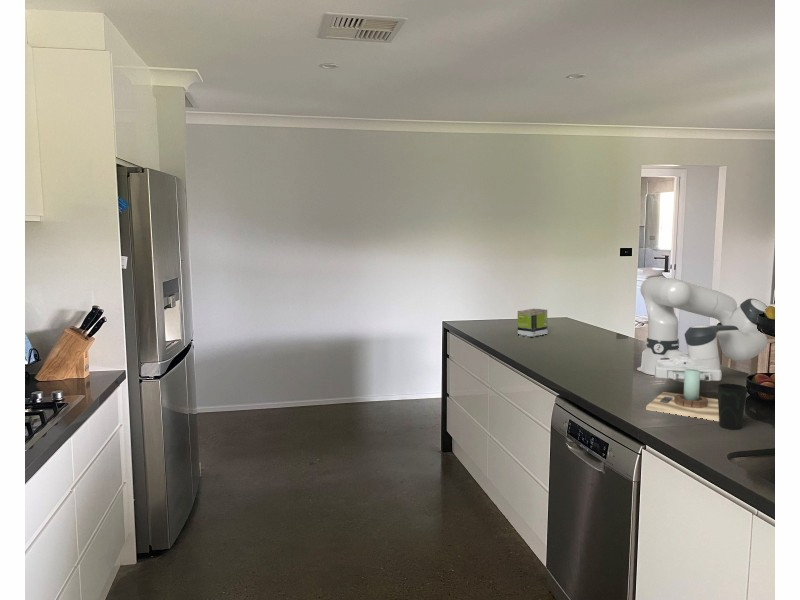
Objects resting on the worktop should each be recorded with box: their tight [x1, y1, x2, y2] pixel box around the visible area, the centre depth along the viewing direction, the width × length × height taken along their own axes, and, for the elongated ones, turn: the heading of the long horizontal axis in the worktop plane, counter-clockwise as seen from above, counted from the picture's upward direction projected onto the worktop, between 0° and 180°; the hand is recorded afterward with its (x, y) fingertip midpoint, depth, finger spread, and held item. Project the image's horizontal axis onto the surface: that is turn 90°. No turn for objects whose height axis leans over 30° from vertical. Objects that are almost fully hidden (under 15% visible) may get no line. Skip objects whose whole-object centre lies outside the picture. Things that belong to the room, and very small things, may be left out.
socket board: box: [645, 391, 719, 422], centre depth 193 cm, size 22×22×3 cm
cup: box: [716, 382, 748, 431], centre depth 173 cm, size 8×8×12 cm
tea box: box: [517, 308, 549, 336], centre depth 335 cm, size 15×10×15 cm, turn 130°
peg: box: [683, 369, 701, 401], centre depth 193 cm, size 4×4×11 cm
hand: (692, 377), depth 192 cm, fingers open, 8 cm apart
